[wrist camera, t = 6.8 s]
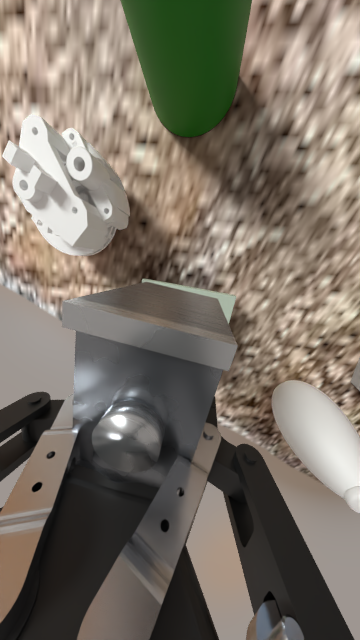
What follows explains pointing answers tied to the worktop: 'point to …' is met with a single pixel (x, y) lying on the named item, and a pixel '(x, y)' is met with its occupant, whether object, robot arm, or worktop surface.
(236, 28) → the motor
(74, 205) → the mechanical part
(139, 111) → the worktop surface
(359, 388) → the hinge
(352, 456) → the sauce bottle
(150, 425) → the housing
